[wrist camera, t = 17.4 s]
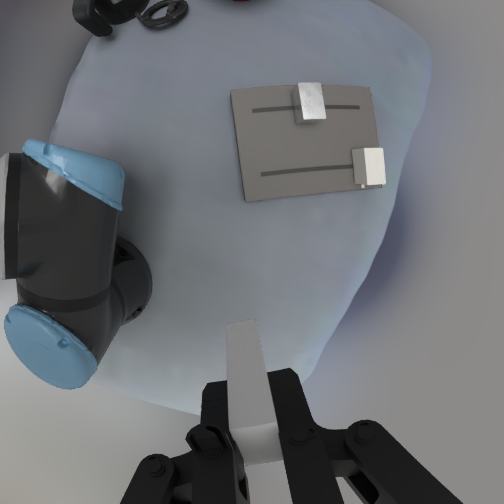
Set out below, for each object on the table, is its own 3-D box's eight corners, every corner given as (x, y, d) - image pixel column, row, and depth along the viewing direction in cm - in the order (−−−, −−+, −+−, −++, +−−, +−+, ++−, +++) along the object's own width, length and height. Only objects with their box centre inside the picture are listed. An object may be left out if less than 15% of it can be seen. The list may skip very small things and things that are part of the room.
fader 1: (296, 124, 35) (303, 119, 31) (291, 91, 33) (297, 82, 29) (316, 123, 35) (326, 118, 31) (311, 90, 33) (320, 82, 29)
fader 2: (354, 183, 37) (367, 185, 34) (351, 149, 36) (364, 147, 32) (372, 182, 38) (385, 183, 34) (369, 149, 36) (382, 147, 32)
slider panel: (244, 199, 40) (245, 202, 37) (230, 95, 36) (230, 89, 33) (373, 186, 41) (382, 187, 38) (361, 91, 36) (370, 87, 33)
